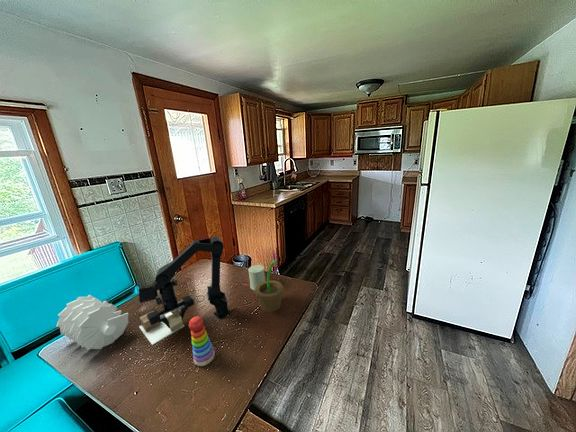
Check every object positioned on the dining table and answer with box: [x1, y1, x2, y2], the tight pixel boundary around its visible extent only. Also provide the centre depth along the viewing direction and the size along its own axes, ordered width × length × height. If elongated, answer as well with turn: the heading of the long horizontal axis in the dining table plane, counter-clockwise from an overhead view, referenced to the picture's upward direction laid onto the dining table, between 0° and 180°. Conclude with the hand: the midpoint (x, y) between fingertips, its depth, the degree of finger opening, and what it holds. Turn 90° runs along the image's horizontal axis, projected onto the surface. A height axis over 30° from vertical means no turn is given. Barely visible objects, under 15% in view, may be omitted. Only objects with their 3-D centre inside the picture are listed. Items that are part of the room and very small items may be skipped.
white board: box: [138, 311, 185, 346], centre depth 108 cm, size 17×14×1 cm
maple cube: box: [166, 311, 184, 331], centre depth 105 cm, size 5×5×5 cm
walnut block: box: [139, 310, 160, 332], centre depth 108 cm, size 6×6×5 cm
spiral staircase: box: [55, 294, 130, 351], centre depth 101 cm, size 18×18×25 cm
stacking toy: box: [188, 315, 216, 367], centre depth 87 cm, size 8×8×19 cm
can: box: [248, 264, 266, 291], centre depth 134 cm, size 9×9×12 cm
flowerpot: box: [254, 250, 284, 313], centre depth 113 cm, size 14×14×30 cm
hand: (175, 324), depth 106 cm, fingers closed on maple cube, 5 cm apart
